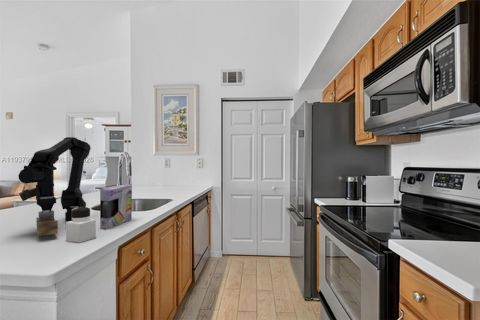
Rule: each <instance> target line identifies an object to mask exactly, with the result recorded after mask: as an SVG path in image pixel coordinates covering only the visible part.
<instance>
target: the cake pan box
mask: <svg viewBox="0 0 480 320" xmlns="http://www.w3.org/2000/svg"><path fill="white" fill-rule="evenodd" d="M132 191H133V185H132V184H121V185H113V186H109V187H105V188H104V187H103V188H100V190H99V195H100V197H99V199H100V200H99V205H100V206H99V207H100V208H99V209H100V210H99V216H100V217H99V226H100V227H99V228H100V229H103V230H109V229H110V230H111V229H113V228H115V227H117V226H119V225H122V224H124V223H126V222H128V221H130V220H132V218H133V217H132V213H133V211H132V207H133V204H132V202H133V201H132V200H133V192H132Z"/></svg>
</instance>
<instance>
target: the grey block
mask: <svg viewBox="0 0 480 320" xmlns="http://www.w3.org/2000/svg"><path fill="white" fill-rule="evenodd" d="M38 218H39V222H47V221H54V219H55V210H54V209H51V211H49V210H43V211H42V210H41V211H38Z"/></svg>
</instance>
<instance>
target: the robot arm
mask: <svg viewBox="0 0 480 320" xmlns="http://www.w3.org/2000/svg"><path fill="white" fill-rule="evenodd" d="M67 151H69V153H70V155H71V158H72V162H71V167H70V173H69V179H68V184H67V188H66V189H63V190H61V196H60V204H61V207H62V208H61V209H62V210H66V211H64V220H65V223H66V222H69V221H73V220H72V210H73V209H75V208H79V207H87V202H86V201H85V200H84V198H83V193H82V190H81V189H80V188H81V183H82V177H83V176H82V175H83V171H84V165H85V164H84V163H85V160H86V159H87V158H88V157H89V155H90V152H91V145H90V144H89V143H88V142H86V141H83V140H80V139H79V138H77V137H75V136H72V137H71V136H67V137H63V139H62V140H60V141H58V142H57V143H56V144H54V145H52V146H51V147H49V148H44V149H40V150H37V151H35V152H34V154H33V156H32V158H31V159H30V161H29V163H28V165H24V166H23V169H21V170H20V171H19V173H18V175H17V176H18V180H19V181H20V182H21V183H22V184H33V183H34V184H35V183H36V184H35V187H33V188H30V189H28V188H26V189H23V190H22V192H19V193H18V194H19V197H20V199H21V201H22V202H25V201H27V200H29V199H33V198H35V200H36V205H37V206H39V207H40V208H41V211H43V210H49V211H51V210H53V207H54V205H55V204H57V198H56V197H55V182H54V181H55V179H54V176H55V175H54V174H55V173H54V171H57V169H58V168H57V167H56V166H55V164H56V163H57V162H58V161H59V159H60V156H61V155H63V154H64V153H66V152H67Z"/></svg>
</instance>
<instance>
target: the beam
mask: <svg viewBox="0 0 480 320" xmlns="http://www.w3.org/2000/svg"><path fill="white" fill-rule="evenodd" d="M35 221H36V223H35V224H36V231H37V236H38V237H41V236H42V235H43V236H49V235H55V234H58V222H59V221H58V219H55V218H54V221H47V222H39V217H36V219H35Z"/></svg>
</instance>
